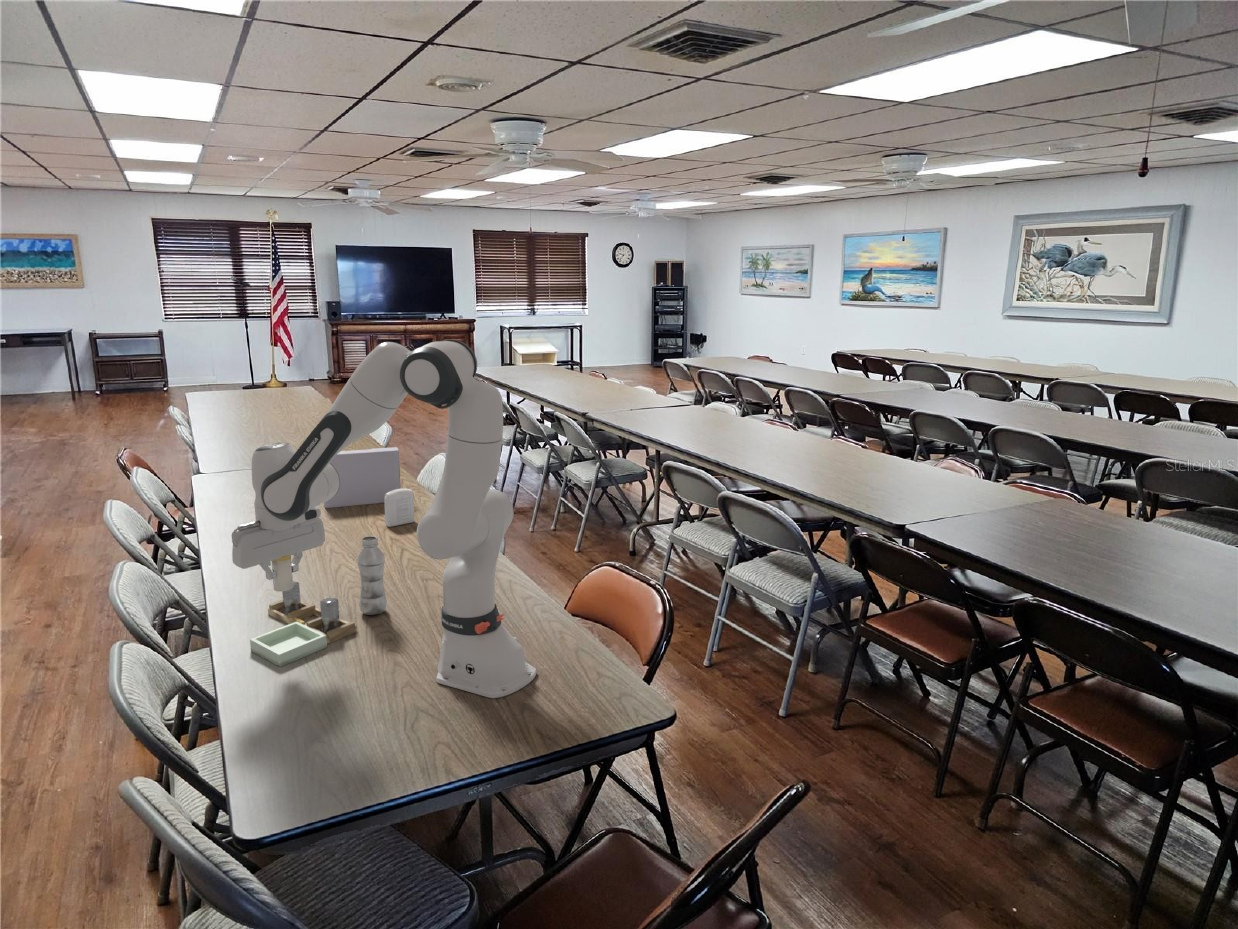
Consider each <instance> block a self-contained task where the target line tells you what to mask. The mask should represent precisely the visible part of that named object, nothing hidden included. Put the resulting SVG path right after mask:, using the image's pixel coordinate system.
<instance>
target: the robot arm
mask: <svg viewBox="0 0 1238 929" xmlns="http://www.w3.org/2000/svg"><path fill="white" fill-rule="evenodd" d="M477 371H478V361H477V357H476V354H475V352H474V350H473V349H472V348H471V347H470V346H469V345H468V344H466V343H465V342H462V341H460V340H457V339H443V340H440V341H432V342H429V343H427V344H424V345H422V346H420V347H417V348H415V349H414V350H410V349H409V348H407V347H405V346H404V345H403V344H400V343H398V342H393V341H385V342H381V343H379V344H378V345H376V346H375V347H374V348H373V349H372V350H371V351H370V352H369V353H368V354H367V355H366V356H365V357H364V359H363V360H362V361H361V362H360V363H359V365H358V366H357V367H356V368H355V370H354V371H353V372H352V374H351V375H350V377H349V379H348V380H347V382H346V383H345V384H344V386H343V387H342V389H341V391H340V392H339V394H338V395H337V396H336V398H335V400H334V402H333V403H331V405H330V407H329V408H328V410H327V411H326V412H325V413H324V415H323V416H322V418H321V420H320V421H319V423H318V424H317V425H316V426H315V427H314V428H313V430H312V431H311V432H310V434H309V435H308V436H307V437H306V438H305V440H304V441H303V442H302V443H301V445H300V446H299V448H298V449H296V448H295V447H294V446H293V445H292V444H291V443H288V442H276V443H271V444H266V445H263V446H260V447H258V448H257V449H256V450H254V451H253V454H252V457H251V481H252V482H251V484H252V485H251V486H252V488H253V491H254V493H255V494H254V496H255V497H254V498H255V499H254V503H253V504H254V515H255V521H252V522H249V523H246V524H240V525H238V526H237V528H235V529H234V530H233V532H232V533H231V543H232V548H231V550H232V551H231V552H232V553H231V556H232V564H233V565H234V566H236V567H238V568H241V569H243V570H244V569H245V570H246V569H248V568H252V567H256V566H258V565H259V566H260V567H261V569H262V570H263V571H264V572H265V579H266V580H269V581H272V580H273V579H275V578H276V571H275V570H272V568H270V566H272V562H271V561H273V560H276V559H279V558H281V557H284V556H288V555H291V556H293V557H292V558H291V564H292V574H293V573H296V572H299V570H300V569H299V564H300V562H301V560H302V558H303V552H305V551H309V550H312V549H315V548H319V547H321V546H323V545H324V543H325V541H326V533H325V526H324V522H323V520H322V518H320V517H321V515H322V512H321V509H320V508H318V507H319V506H320V505H322V504H324V502H326V501H328V500H329V499H331V498H332V497H334V496H335V495H336V494H337V492H338V490H339V487H340V478H339V475H338V472H337V470H336V469H335V468H334V466H333V465H332V464H330V462H331V461H332V459H333V458H334V457H335V456H336V455H337V454H338V453H339V452H340V451H343V450H344V449H345V448H347V447H348V446H351V444H353V443H355V442H357V441H358V440H360V439H362V438H365V437H366V436H368V435H370V434H372V433H374V432H376V431H378V430H379V429H380V428H381V427H382V426H383V425H385V424H386V422H387V421H388V420H390V419H391V417H393V415H394V414H395V413H396V411H397V410H398V409H399V407H400V405H401V404H402V402H404V399H405V398H406V397H407V395H409V396H411V397H412V398H414V399H416V400H417V401H421V402H424V403H426V404H429V405H431V406H434V407H436V408H437V409H439V410H443V409H447V412H448V427H447V436H446V437H447V439H446V449H445V457H444V458H445V460H444V467H443V471H442V474H441V479H440V480H439V484H438V487H437V489H436V493H435V494H434V497H433V499H432V501H431V504H430V506H429V508H428V509H427V511H426V513H425V514H424V516H422V518H421V519H420V520H419V522H418V524H417V526H416V538H417V539H416V540H417V543H418V545H419V547H420V548H421V550H422V551H423V552H424V554H425V555H427V556H428V557H430V558H431V559H433V560H446V559H450V560H449V562H448V563H447V565H446V567H445V569H444V570H443V575H442V608H441V612H440V613H441V614H440V619H441V626H442V628H443V629H442V630H443V631H442V638H441V643H440V650H439V651H440V653H439V660H438V664H437V671H438V672H437V674H436V682H437V683H438V684H439V685H440V684H441V685H443V686H446V687H447V686H448V687H451V688H453V689H454V688H455V689H458V690H462V691H466V692H469V693H472V694H475V695H479V696H481V697H482V696H483V697H486V698H489V699H498V698H503V697H506V696H509V695H511V694H513V693H515V692H517V691H519V690H521V689H523V688H524V687H526V686H527V685H529V684H530V683H531V682H532V681H533V680H534V679H535V677H537V676H536V675H537V668H536V667H535V666H534V665H531V664H530V663H529V662H527V661H526V656H525V652H524V651H525V650H524V648H523V646H522V645H521V644H520V642H519V639H518V638H517V637H516V636H513V635H512V634H511V633H510V631H508V629H507V628H506V627H505V626H504V625H503V624H502V620H504V619H505V617H504V616H505V613H502V614H500V612H499V608H498V606H497V604H496V602H495V600H496V599H495V598H496V595H495V594H496V592H495V589H496V588H495V586H496V584H495V583H496V572H497V571H496V570H497V565H498V560H499V555H500V552H501V548H502V545H503V540H504V537H505V535H506V533H507V530H508V528H509V526H510V525H511V523H512V522H513V519H514V506H513V503H512V501H511V499H510V498H509V497H508V496H507V494H506V493H504V492H502V491H501V490H498V489H490V488H491V487H492V485H493V484H494V482H495V481H496V480H497V478H498V476H499V472H500V466H501V455H502V448H503V447H502V445H503V433H504V409H503V408H504V407H503V398H502V395H501V392H500V391H499V389H498V388H497V387H495V386H494V385H492V384H491V383H489V382H486V381H482V380H481V381H480V380H477V379H476V378H475V376H476V374H477Z"/></svg>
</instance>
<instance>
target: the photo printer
mask: <svg viewBox="0 0 1238 929" xmlns="http://www.w3.org/2000/svg"><path fill="white" fill-rule="evenodd" d="M384 502H385V503H384V523H385V526H386V527H389V528H392V527H395V526H396V527H397V526H400V525H406V524H411V523H414V522H415V519H416V517H415V494H414V491H413V489H409V488H406V487H405V488H401V489H396V490H392V491H390V492H388V493H386V494H385V496H384Z"/></svg>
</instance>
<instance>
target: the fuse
mask: <svg viewBox="0 0 1238 929" xmlns="http://www.w3.org/2000/svg"><path fill="white" fill-rule="evenodd" d="M291 562H292V555H288V556H284V557H281V558H279V559H276V560H273V561H271V569H272V570H275V571H276V578H275V579H272V580H273V581H272V582H273V590H274V591H275V592H282V591H287V590H290V589H292V588H293V581H294V578H293V573H292V564H291Z"/></svg>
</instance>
